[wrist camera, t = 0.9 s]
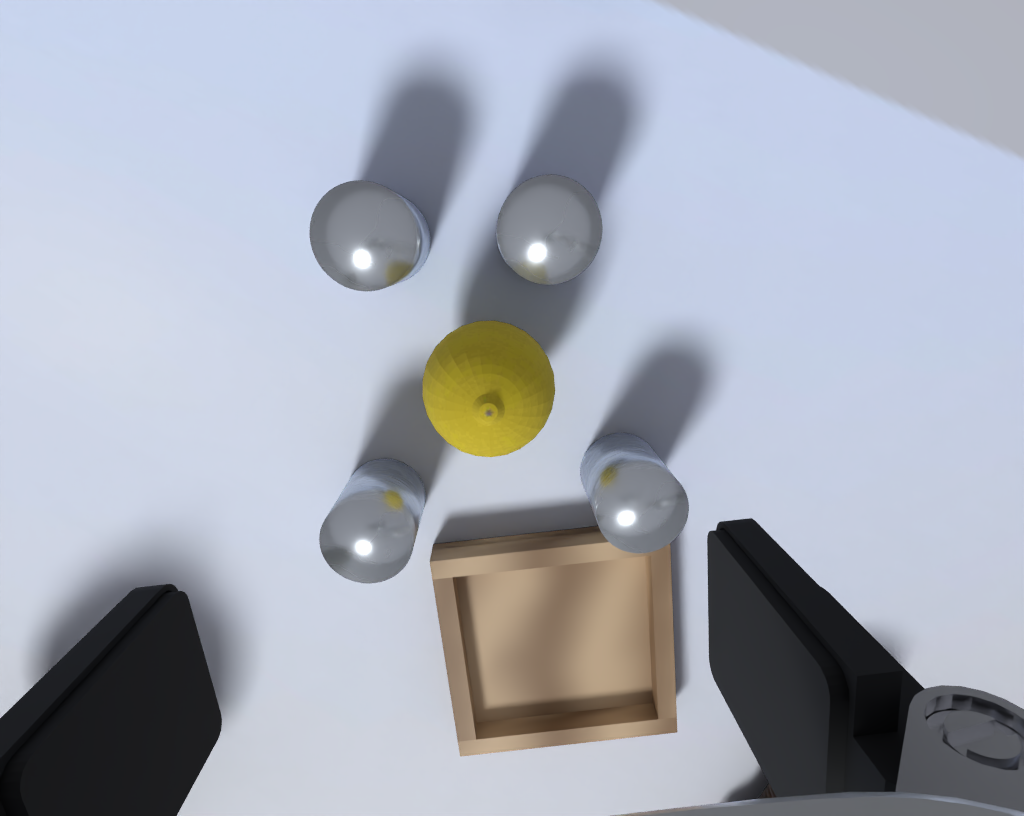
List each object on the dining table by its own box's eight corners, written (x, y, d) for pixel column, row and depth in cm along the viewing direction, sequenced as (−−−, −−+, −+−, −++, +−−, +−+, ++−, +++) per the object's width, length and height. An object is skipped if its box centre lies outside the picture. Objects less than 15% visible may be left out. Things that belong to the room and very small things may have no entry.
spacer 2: (419, 454, 30) (405, 494, 25) (430, 526, 31) (419, 577, 26) (340, 463, 30) (311, 504, 25) (354, 534, 31) (328, 587, 26)
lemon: (448, 434, 30) (432, 499, 22) (419, 325, 28) (391, 355, 20) (556, 409, 29) (579, 466, 22) (533, 299, 28) (548, 319, 20)
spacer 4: (655, 428, 30) (687, 463, 25) (659, 501, 31) (689, 548, 26) (577, 437, 30) (593, 473, 25) (583, 509, 31) (599, 558, 26)
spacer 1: (423, 188, 27) (408, 175, 22) (435, 278, 28) (423, 285, 23) (335, 197, 27) (300, 186, 22) (350, 288, 28) (320, 296, 23)
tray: (660, 519, 31) (669, 535, 29) (667, 707, 34) (677, 732, 33) (433, 544, 31) (429, 561, 29) (461, 730, 34) (460, 756, 33)
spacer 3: (579, 183, 27) (598, 169, 22) (585, 273, 28) (605, 278, 23) (491, 192, 27) (491, 180, 22) (500, 282, 28) (502, 290, 23)
